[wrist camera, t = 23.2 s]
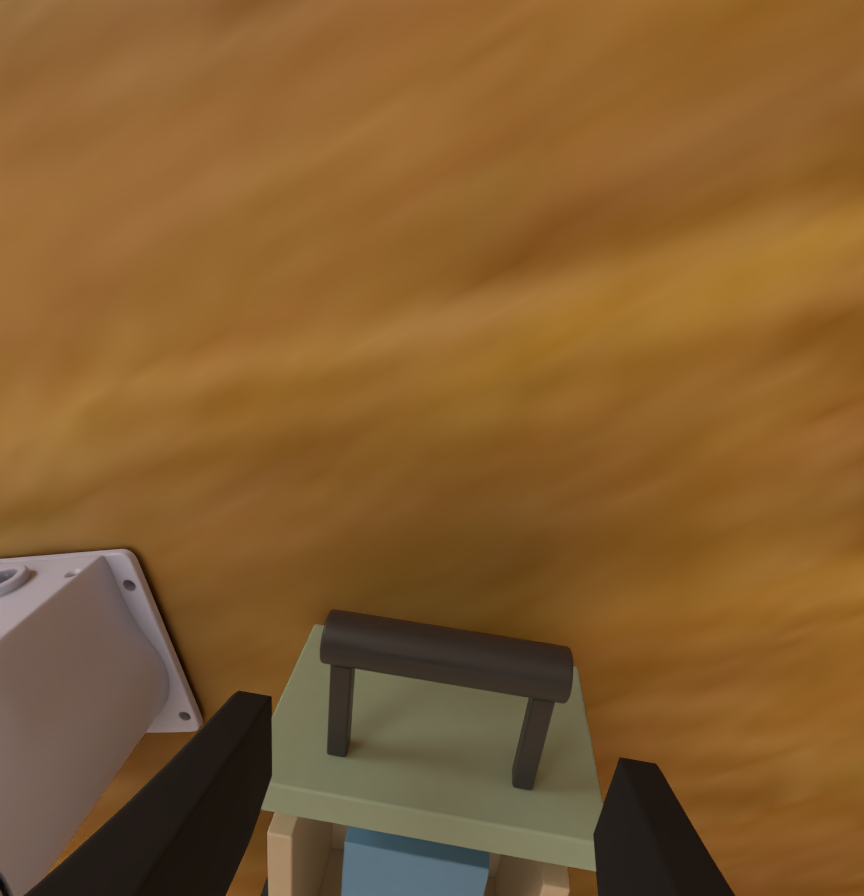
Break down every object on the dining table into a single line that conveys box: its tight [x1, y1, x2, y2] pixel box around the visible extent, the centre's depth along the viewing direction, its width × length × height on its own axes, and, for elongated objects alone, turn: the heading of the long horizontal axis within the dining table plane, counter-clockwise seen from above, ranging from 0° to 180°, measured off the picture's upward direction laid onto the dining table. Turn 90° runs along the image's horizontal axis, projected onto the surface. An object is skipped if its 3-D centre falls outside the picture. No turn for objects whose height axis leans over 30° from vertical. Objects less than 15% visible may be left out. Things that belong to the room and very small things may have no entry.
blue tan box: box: [341, 826, 490, 896], centre depth 20 cm, size 5×5×5 cm
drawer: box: [261, 609, 603, 896], centre depth 19 cm, size 17×10×6 cm, turn 174°
